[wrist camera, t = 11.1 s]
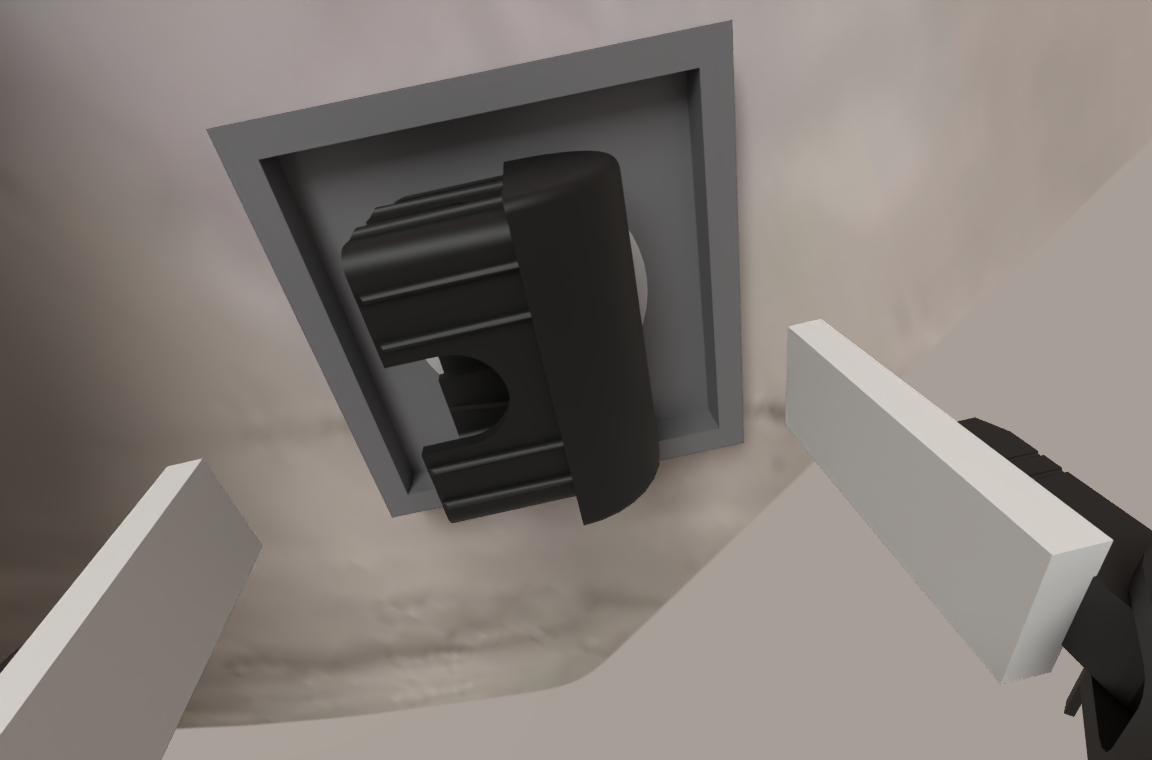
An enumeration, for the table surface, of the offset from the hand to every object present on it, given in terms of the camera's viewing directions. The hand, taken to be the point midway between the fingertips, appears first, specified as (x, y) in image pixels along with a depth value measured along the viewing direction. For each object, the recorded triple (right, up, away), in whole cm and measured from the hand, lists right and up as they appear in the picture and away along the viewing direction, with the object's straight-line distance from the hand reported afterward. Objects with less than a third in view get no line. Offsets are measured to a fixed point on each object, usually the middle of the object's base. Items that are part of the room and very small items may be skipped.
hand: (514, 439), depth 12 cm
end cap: (0, +4, +8) cm, 9 cm away
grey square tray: (0, +5, +8) cm, 10 cm away
